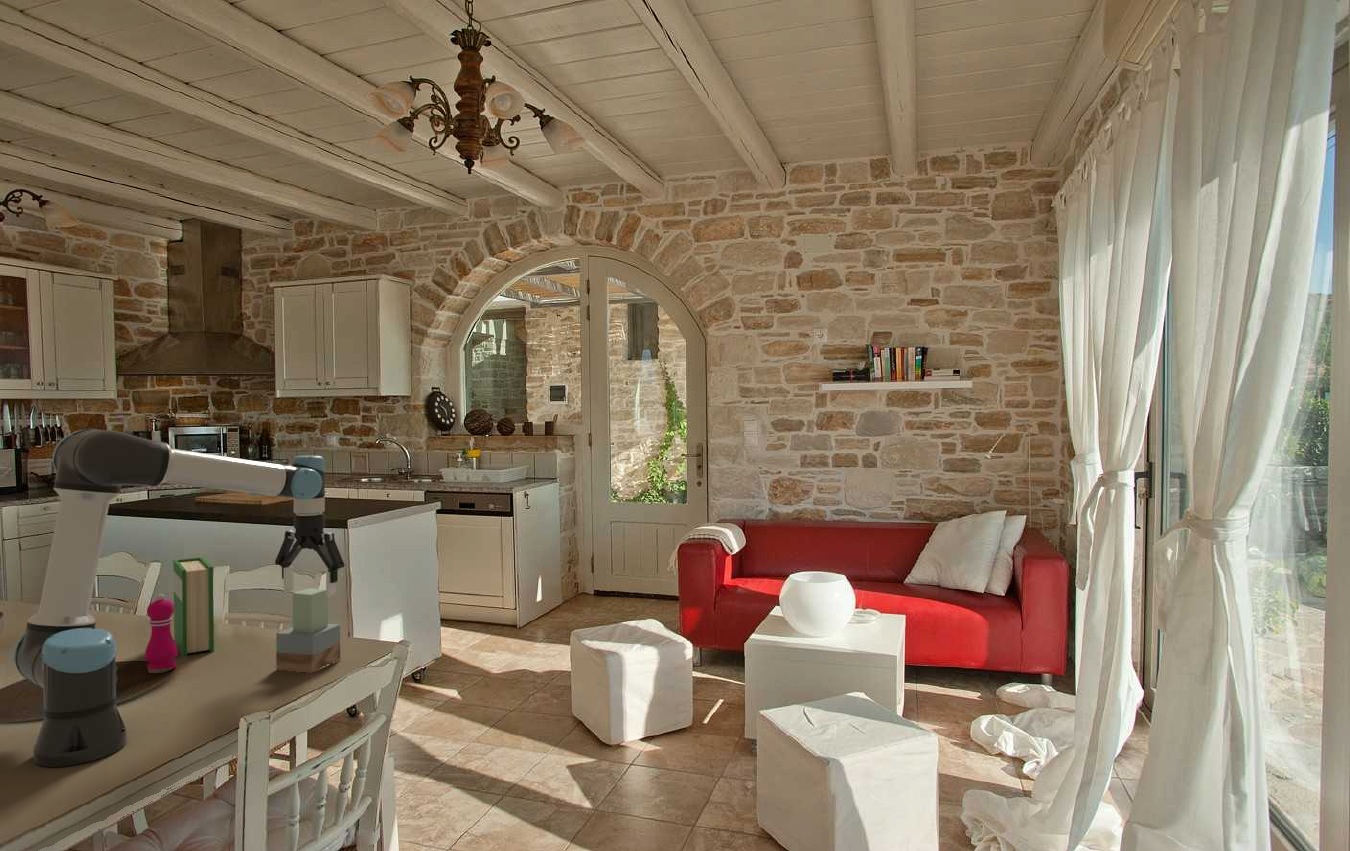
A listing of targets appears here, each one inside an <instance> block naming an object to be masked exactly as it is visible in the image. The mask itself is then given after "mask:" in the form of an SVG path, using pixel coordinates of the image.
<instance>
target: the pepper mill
mask: <svg viewBox="0 0 1350 851" xmlns="http://www.w3.org/2000/svg"><path fill="white" fill-rule="evenodd" d="M146 615H147V616H148V617H149V618H150V619H149V620H148V621H149V626H150V627H151V635H150V638H149V641H148V643H147V646H146V648H145V652H144V658H145V660H146V661H147V662H148V664H147V665H146V669H147V668H150V669H161V668H169V667H172V668H175V669H176V666H177V665H176V663H177V662H176V660H174V659H175V658H176V657H177V655H178V652H179V650H178V647H177V645H176V643H175V641H174V638H173V637H174V636H172V632H171V624H172V623H173V620H172V619H173V617H172V615H174V602H172V601H170V600H169V599H165V595H164V594H163V593H159V594H157V595H156V600H154V601H152V602H151V603H150V604H149V605H148V606H147V608H146Z"/></svg>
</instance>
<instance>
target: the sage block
mask: <svg viewBox="0 0 1350 851" xmlns="http://www.w3.org/2000/svg"><path fill="white" fill-rule="evenodd" d="M328 597H329V596H326V588H325V589H324V588H313V587H308V588H304V589H302V590H299V591H295V592H292V627H293V631H302V632H311V633H312V632H315V631H317V630H320V629H322V628H325V627H328V624H329V621H328V620H329V617H328V616H329V615H328V614H329V613H328V612H329V611H328V610H329V607H328V605H329V604H328V601H329V600H328Z"/></svg>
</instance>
